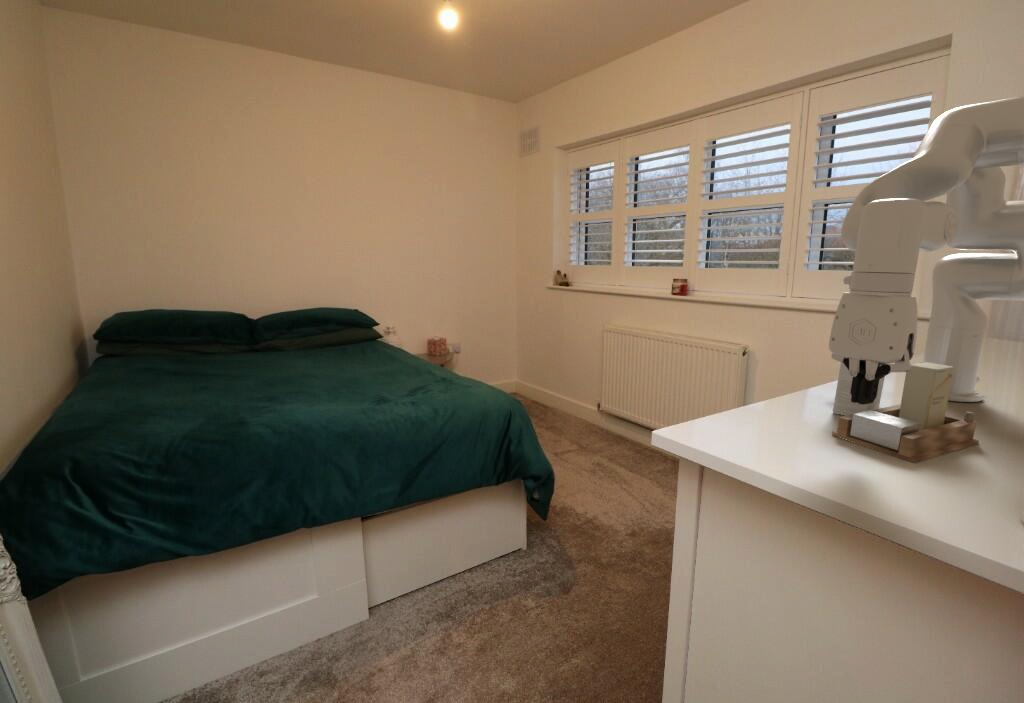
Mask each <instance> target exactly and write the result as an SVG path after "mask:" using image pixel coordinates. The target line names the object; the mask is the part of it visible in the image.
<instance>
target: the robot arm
mask: <svg viewBox="0 0 1024 703" xmlns="http://www.w3.org/2000/svg"><path fill="white" fill-rule="evenodd" d="M1021 165H1024V95H1023V96H1013V97H1009V98H1002V99H998V100H992V101H986V102H981V103H974V104H967V105H963V106H959V107H955V108H953V109H950V110H948V111H945V112H944V113H942V114H940V115H939V116H937V118H936V119H934V121H933V122H932V123H931V125H930V127H929V128H928V130H927V132H926V134H925V135H924V137H923V139H922V141H921V142H920V144H919V146H918V147H917V149H916V150H915V153H913V156H912V158H911V160H908V161H906V162H904V163H902V164H900V165H898V166H897V167H894V168H893V169H892V170H889V171H887V172H886V173H884V174H882V175H880V176H878V177H877V178H875V179H874V180H872V181H871V182H870V183H867V185H865V186H864V187H863V188H862V189H861V191H860V192H859V193H858V194H857V196H856V197H855V199H854V201H853V202H852V204H851V205H850V207H849V208H848V210H847V213H846V215H845V217H844V219H843V222H842V226H841V229H840V230H841V231H840V237H841V241H842V244H843V245H844V246H845V247H846V249H848V250H850V251H853V252H854V260H853V267H852V272H851V274H850V275H846V276H844V278H843V280H842V281H843V284H844V285H848V286H849V288H848V289H849V292H843V293H842V295H841V298H840V301H839V303H838V305H837V308H836V311H835V315H834V318H833V323H832V326H831V331H830V335H829V342H828V350H829V352H831V353H832V354H831V359H832V360H835V361H837V362H841V363H844V364H845V366H846V367H847V369H848V370H849V374H850V376H852V377H853V379H852V385H851V391H850V394H851V395H852V396H851V402H854V403H857V402H858V404H862V405H864V404H869V403H873V402H874V400H875V399H876V397H877V391H878V385H879V379H882V378H884V376H885V377H886V376H887V375H889V374H891V373H906V372H907V371H910V364H911V362H910V361H911V360H912V359H913V356H914V355H915V354H914V353H915V349H916V343H917V335H918V302H917V296H916V295H912V294H913V289H914V283H915V282H914V281H915V278H916V277H915V276H916V270H917V265H918V260H919V253H926V252H927V253H928V252H929V253H930V252H933V251H938V250H940V249H943V248H944V247H945V246H948V247H949V248H951V249H954V250H961V251H964V250H965V251H1012V252H1014V253H1007V252H1006V253H1005V252H1003V253H992V252H968V253H967V252H966V253H965V252H963V253H962V252H961V253H953V254H950V255H947V256H943V257H941V258H940V259H939V260H938V261H937V262H936V263H935V265H934V266H933V269H932V276H931V278H932V283H931V284H932V303H931V310H930V318H929V322H928V327H927V328H928V329H927V333H926V339H925V345H924V349H923V350H924V351H923V356H922V361H921V363H922V362H928V363H934V364H941V365H947V366H953V367H954V368H953V374H952V380H951V386H950V391H949V397H948V401H950V402H961V403H976V402H977V403H978V402H981V401H983V397H984V395H983V393H981V392H979V391H977V390H975V388H976V384H978V383H979V382H980V381H981V380H980V377H979V376H978V373H979V368H980V363H981V358H982V352H983V348H984V343H985V338H986V334H987V329H988V328H987V327H988V324H989V322H988V321H989V320H988V316H987V314H986V312H985V311H984V310H983V309H982V307H981V306H980V305H979V303H977V301H976V300H998V301H1020V302H1021V301H1024V200H1009V201H1008V200H1006V199H1005V196H1004V195H1005V189H1006V188H1005V187H1006V181H1007V180H1006V174H1005V172H1004V171H1003V169H1002V168H1001V167H1010V166H1011V167H1012V166H1021ZM945 195H946V202H941V201H933V199H935V198H939V197H942V196H945ZM930 200H932V201H930ZM868 361H870V363H869V366H868ZM841 363H840V364H841ZM884 379H885V378H884Z"/></svg>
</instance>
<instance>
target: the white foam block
mask: <svg viewBox="0 0 1024 703" xmlns="http://www.w3.org/2000/svg"><path fill="white" fill-rule="evenodd" d="M919 426H920V423H917V422H913V421H909V420H906V419H902V418H898V417H894V416H891V415H887V414H883V413H880V412H876V411H872V410H870V411H865V412H860V413H856V414H853V419H852V426H851V432H850V435H851V436H854V437H858V438H861V439H864V440H867V441H870V442H873V443H876V444H879V445H882V446H885V447H888V448H891V449H895V450H899V447H900V441H901V436H902V435H906V434H910V433H914V432H918V431H919Z"/></svg>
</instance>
